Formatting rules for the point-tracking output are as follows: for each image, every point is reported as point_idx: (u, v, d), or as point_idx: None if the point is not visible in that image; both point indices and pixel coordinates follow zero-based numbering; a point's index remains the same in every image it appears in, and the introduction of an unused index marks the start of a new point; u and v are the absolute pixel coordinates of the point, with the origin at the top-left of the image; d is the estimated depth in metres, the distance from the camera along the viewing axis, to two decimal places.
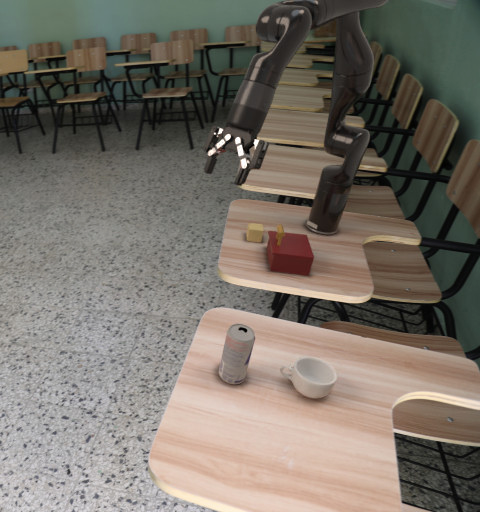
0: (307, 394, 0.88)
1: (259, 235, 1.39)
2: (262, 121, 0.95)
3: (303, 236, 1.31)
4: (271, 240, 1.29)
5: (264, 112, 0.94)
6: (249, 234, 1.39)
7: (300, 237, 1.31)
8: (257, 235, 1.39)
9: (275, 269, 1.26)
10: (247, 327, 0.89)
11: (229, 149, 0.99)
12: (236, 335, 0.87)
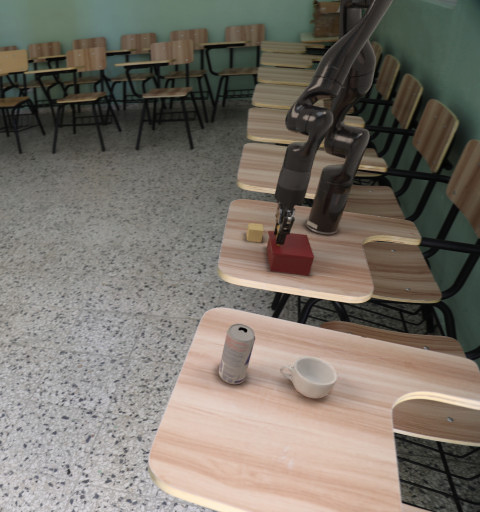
0: (307, 394, 0.88)
1: (259, 235, 1.39)
2: (294, 197, 1.17)
3: (303, 236, 1.31)
4: (271, 240, 1.29)
5: (293, 190, 1.16)
6: (249, 234, 1.39)
7: (300, 237, 1.31)
8: (257, 235, 1.39)
9: (275, 269, 1.26)
10: (247, 327, 0.89)
11: None
12: (236, 335, 0.87)
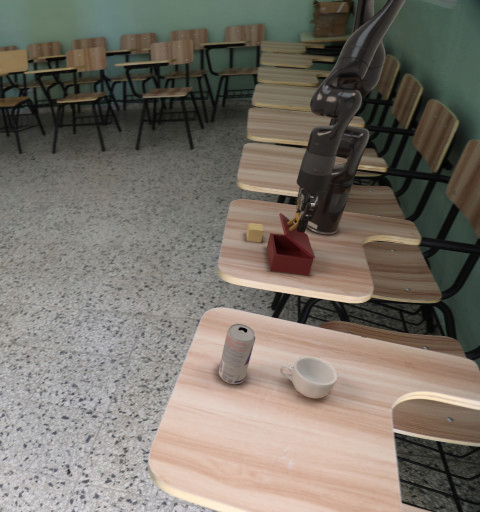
0: (307, 394, 0.88)
1: (259, 235, 1.39)
2: (318, 182, 1.14)
3: (305, 235, 1.30)
4: (284, 222, 1.25)
5: (317, 175, 1.13)
6: (249, 234, 1.39)
7: (303, 234, 1.30)
8: (257, 235, 1.39)
9: (275, 269, 1.26)
10: (247, 327, 0.89)
11: None
12: (236, 335, 0.87)
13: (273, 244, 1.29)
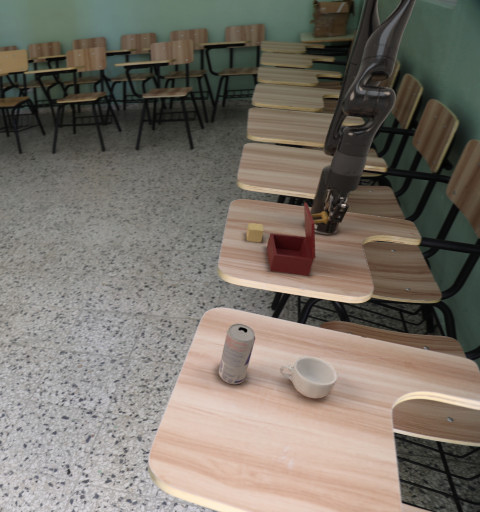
0: (307, 394, 0.88)
1: (259, 235, 1.39)
2: (349, 183, 1.12)
3: None
4: None
5: (348, 176, 1.11)
6: (249, 234, 1.39)
7: None
8: (257, 235, 1.39)
9: (275, 269, 1.26)
10: (247, 327, 0.89)
11: (330, 202, 1.20)
12: (236, 335, 0.87)
13: (273, 244, 1.29)
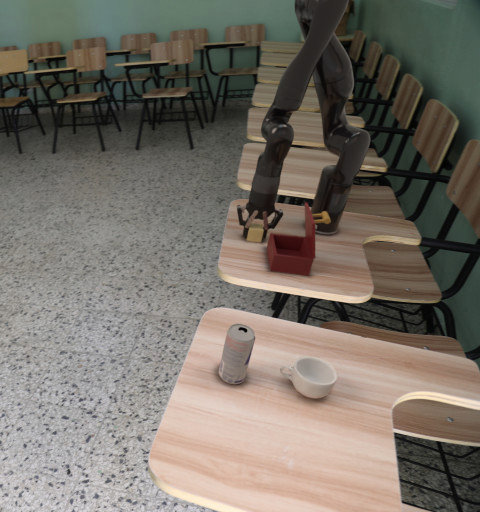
0: (307, 394, 0.88)
1: (259, 235, 1.39)
2: (250, 194, 1.34)
3: None
4: (310, 212, 1.22)
5: (251, 187, 1.34)
6: (249, 234, 1.39)
7: None
8: (257, 235, 1.39)
9: (275, 269, 1.26)
10: (247, 327, 0.89)
11: None
12: (236, 335, 0.87)
13: (273, 244, 1.29)
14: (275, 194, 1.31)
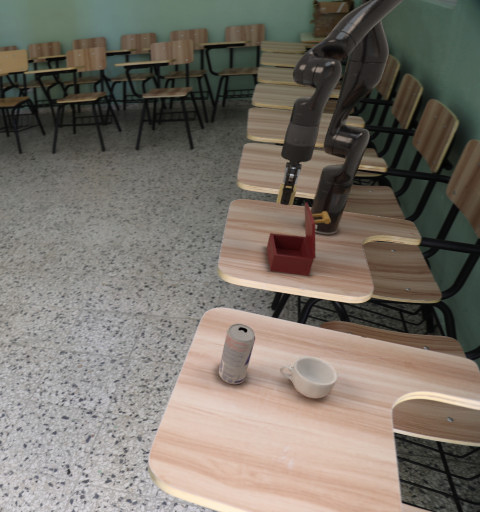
0: (307, 394, 0.88)
1: None
2: (299, 153, 1.14)
3: None
4: (310, 212, 1.22)
5: (298, 146, 1.14)
6: None
7: None
8: None
9: (275, 269, 1.26)
10: (247, 327, 0.89)
11: None
12: (236, 335, 0.87)
13: (273, 244, 1.29)
14: None
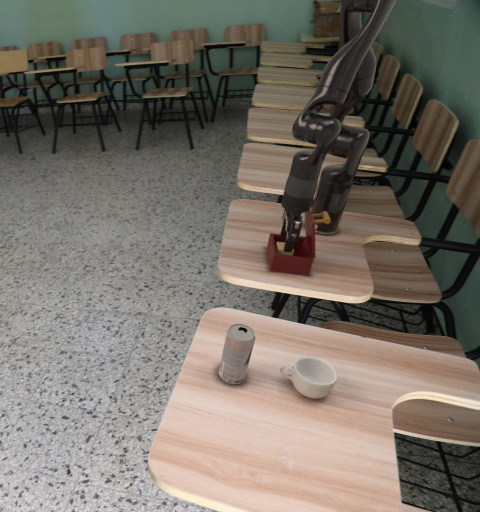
0: (307, 394, 0.88)
1: None
2: (301, 204, 1.18)
3: None
4: (310, 212, 1.22)
5: (300, 198, 1.17)
6: (292, 255, 1.28)
7: None
8: None
9: (275, 269, 1.26)
10: (247, 327, 0.89)
11: None
12: (236, 335, 0.87)
13: (273, 244, 1.29)
14: None
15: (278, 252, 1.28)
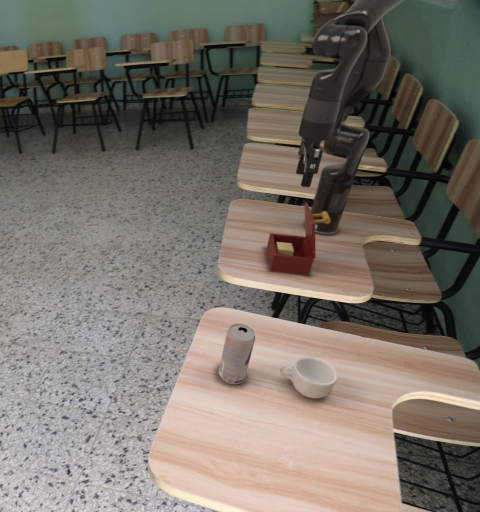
0: (307, 394, 0.88)
1: None
2: (322, 131, 1.07)
3: None
4: (310, 212, 1.22)
5: (321, 123, 1.06)
6: (292, 255, 1.28)
7: None
8: None
9: (275, 269, 1.26)
10: (247, 327, 0.89)
11: None
12: (236, 335, 0.87)
13: (273, 244, 1.29)
14: None
15: (278, 252, 1.28)
